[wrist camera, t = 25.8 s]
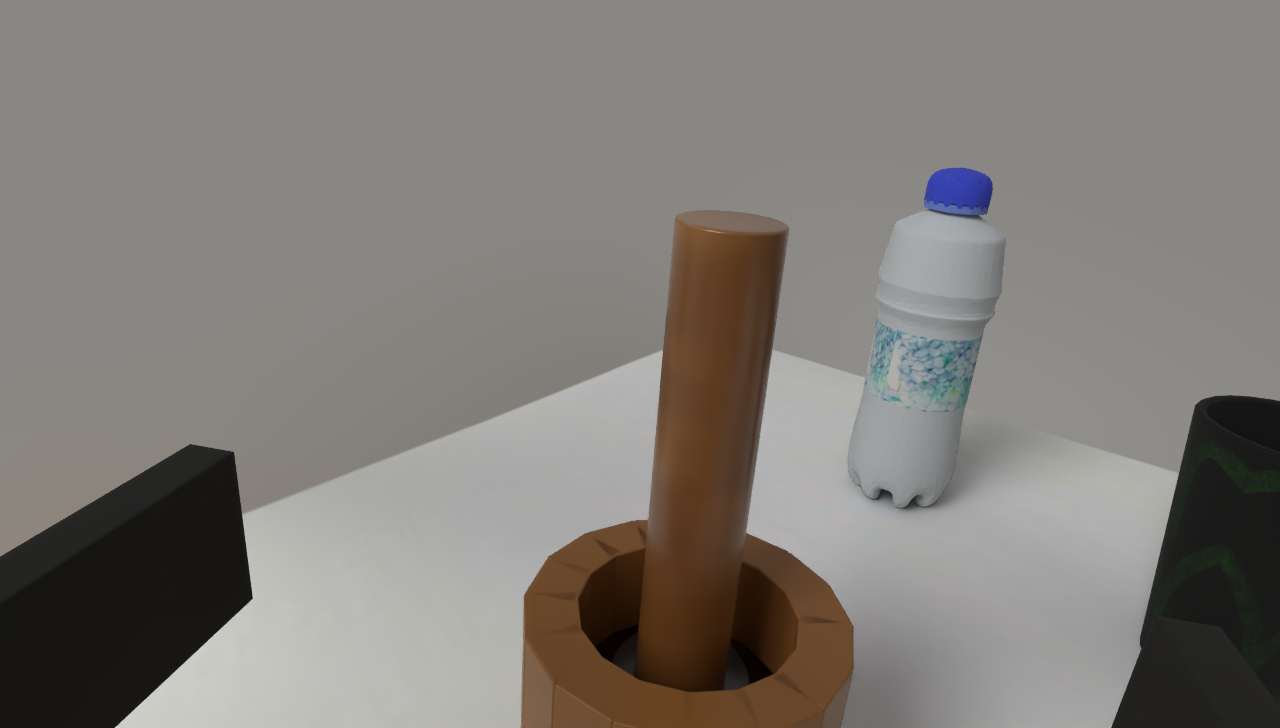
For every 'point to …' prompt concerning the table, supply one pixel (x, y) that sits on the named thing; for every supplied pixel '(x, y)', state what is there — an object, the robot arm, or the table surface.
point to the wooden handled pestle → (706, 447)
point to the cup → (1227, 532)
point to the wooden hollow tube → (609, 614)
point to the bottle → (927, 340)
